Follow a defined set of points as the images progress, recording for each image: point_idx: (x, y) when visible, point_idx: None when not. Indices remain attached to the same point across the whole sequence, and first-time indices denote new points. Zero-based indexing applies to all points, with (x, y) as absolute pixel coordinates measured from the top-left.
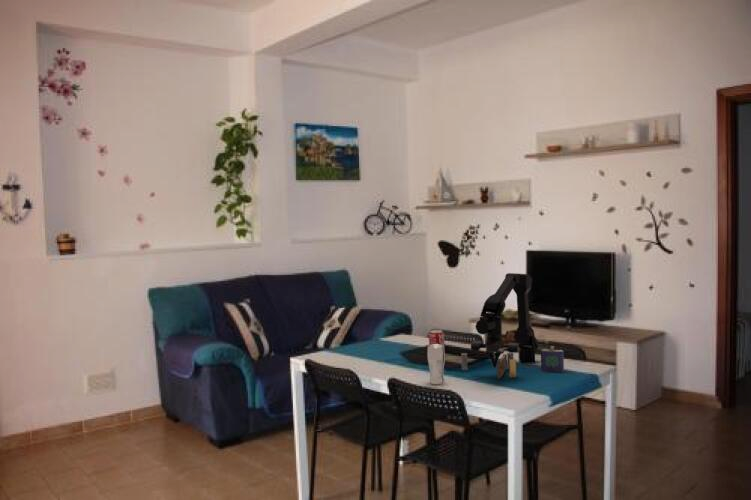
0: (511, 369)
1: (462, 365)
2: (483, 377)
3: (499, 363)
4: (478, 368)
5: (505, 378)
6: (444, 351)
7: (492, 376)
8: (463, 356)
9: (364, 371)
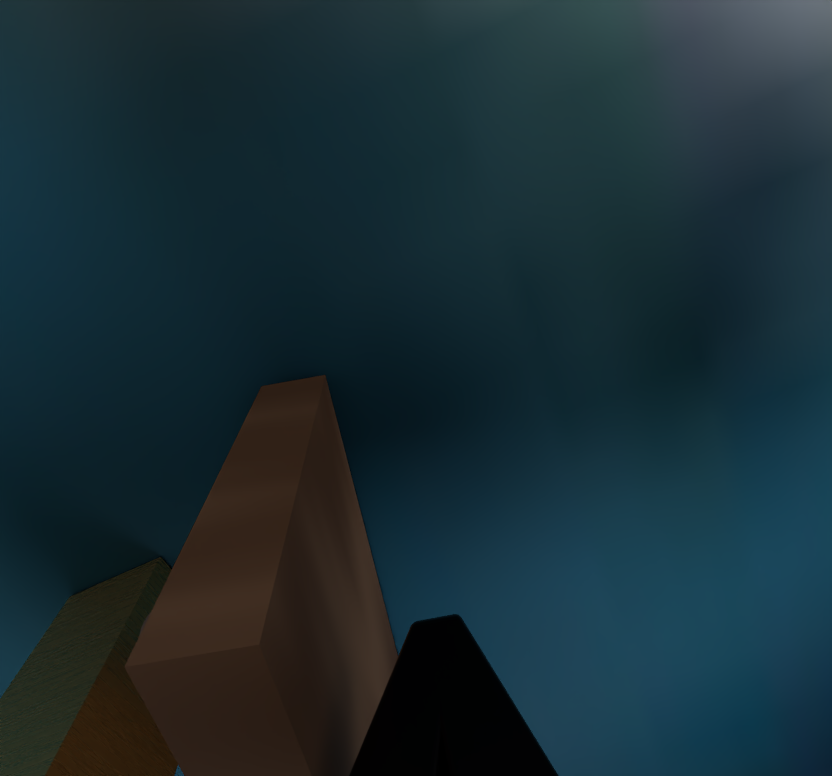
0: (58, 708)
1: None
2: (634, 368)
3: (199, 729)
4: (800, 734)
5: (205, 476)
6: None
7: (483, 490)
8: None
9: None
